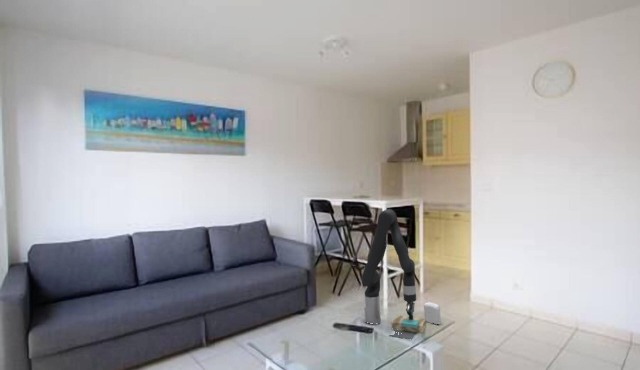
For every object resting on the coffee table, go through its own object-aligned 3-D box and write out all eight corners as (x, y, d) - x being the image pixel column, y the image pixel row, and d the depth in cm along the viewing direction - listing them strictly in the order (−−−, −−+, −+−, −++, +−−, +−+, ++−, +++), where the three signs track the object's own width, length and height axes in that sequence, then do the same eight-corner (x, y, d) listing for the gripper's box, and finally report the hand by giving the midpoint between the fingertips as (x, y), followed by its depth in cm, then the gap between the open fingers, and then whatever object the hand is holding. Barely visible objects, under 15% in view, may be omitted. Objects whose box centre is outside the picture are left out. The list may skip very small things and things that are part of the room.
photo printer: (423, 321, 225) (422, 302, 225) (427, 319, 227) (426, 300, 227) (438, 325, 217) (437, 305, 217) (442, 323, 219) (440, 303, 219)
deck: (392, 328, 216) (391, 322, 216) (397, 321, 226) (397, 315, 226) (421, 333, 207) (421, 326, 207) (426, 325, 218) (425, 318, 218)
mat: (389, 336, 205) (389, 335, 205) (393, 329, 214) (393, 329, 214) (411, 339, 199) (411, 339, 199) (415, 332, 208) (415, 332, 208)
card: (401, 326, 210) (400, 322, 210) (403, 322, 215) (403, 318, 215) (416, 328, 205) (416, 324, 205) (418, 323, 211) (418, 320, 211)
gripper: (405, 288, 222) (407, 316, 222) (400, 295, 210) (402, 324, 210) (418, 289, 219) (419, 317, 218) (413, 296, 207) (415, 325, 207)
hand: (411, 320), depth 214 cm, fingers closed
